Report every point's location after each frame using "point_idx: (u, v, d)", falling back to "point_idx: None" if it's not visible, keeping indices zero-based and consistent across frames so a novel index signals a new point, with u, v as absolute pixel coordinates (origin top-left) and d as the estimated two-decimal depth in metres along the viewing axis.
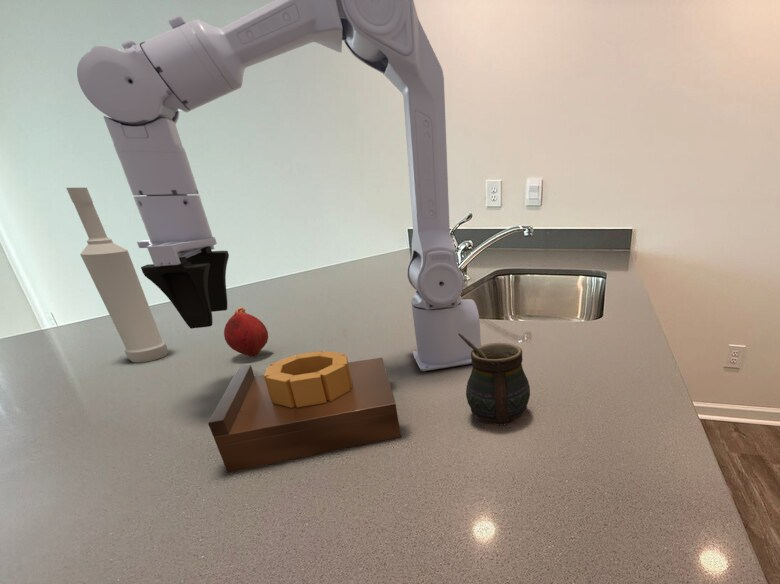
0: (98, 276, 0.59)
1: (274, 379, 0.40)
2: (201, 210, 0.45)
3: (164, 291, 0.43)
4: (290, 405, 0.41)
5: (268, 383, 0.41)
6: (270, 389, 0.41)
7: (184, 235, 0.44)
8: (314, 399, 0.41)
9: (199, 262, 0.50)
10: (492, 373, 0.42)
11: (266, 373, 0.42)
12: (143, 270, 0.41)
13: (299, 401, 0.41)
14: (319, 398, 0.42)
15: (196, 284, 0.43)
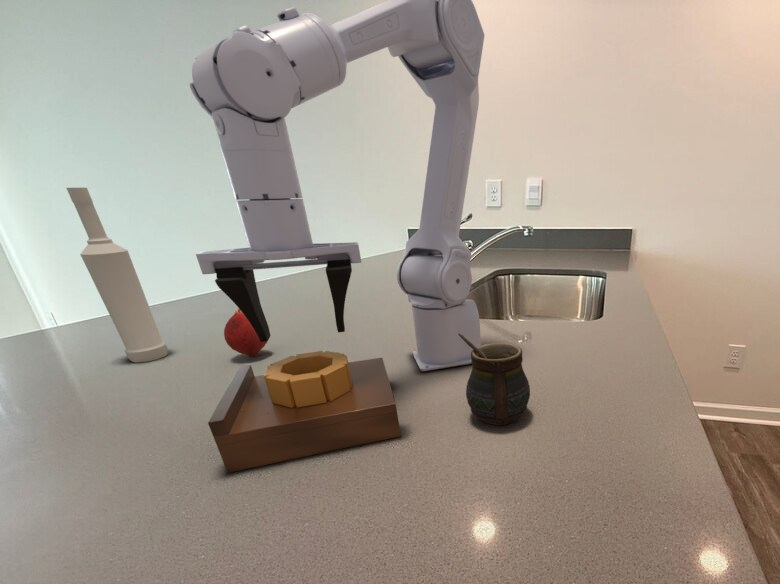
0: (98, 276, 0.59)
1: (274, 379, 0.40)
2: None
3: (346, 292, 0.43)
4: (290, 405, 0.41)
5: (268, 383, 0.41)
6: (270, 389, 0.41)
7: None
8: (314, 399, 0.41)
9: (249, 281, 0.41)
10: (492, 373, 0.42)
11: (266, 373, 0.42)
12: (348, 270, 0.42)
13: (299, 401, 0.41)
14: (319, 398, 0.42)
15: None
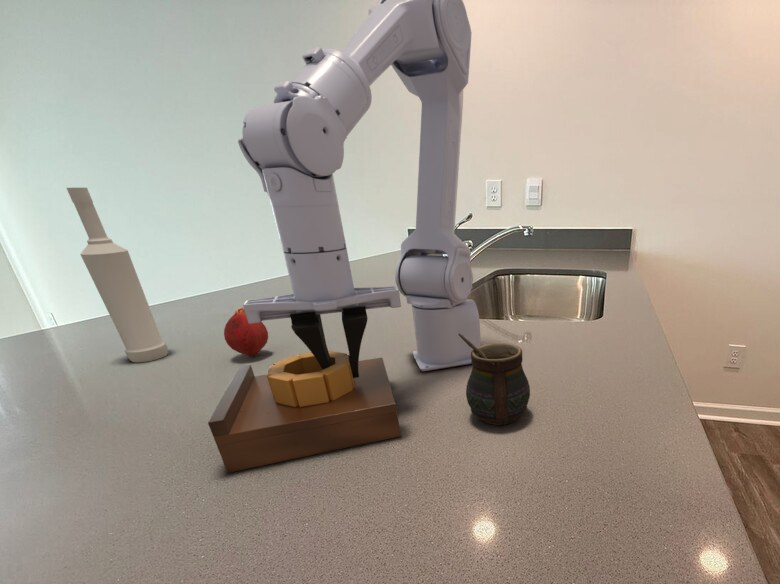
0: (98, 276, 0.59)
1: (277, 378, 0.41)
2: None
3: (361, 339, 0.43)
4: (293, 404, 0.41)
5: (270, 383, 0.41)
6: (273, 388, 0.41)
7: None
8: (317, 398, 0.41)
9: (320, 325, 0.42)
10: (492, 373, 0.42)
11: (269, 373, 0.42)
12: (364, 319, 0.42)
13: (302, 400, 0.41)
14: (322, 398, 0.42)
15: None
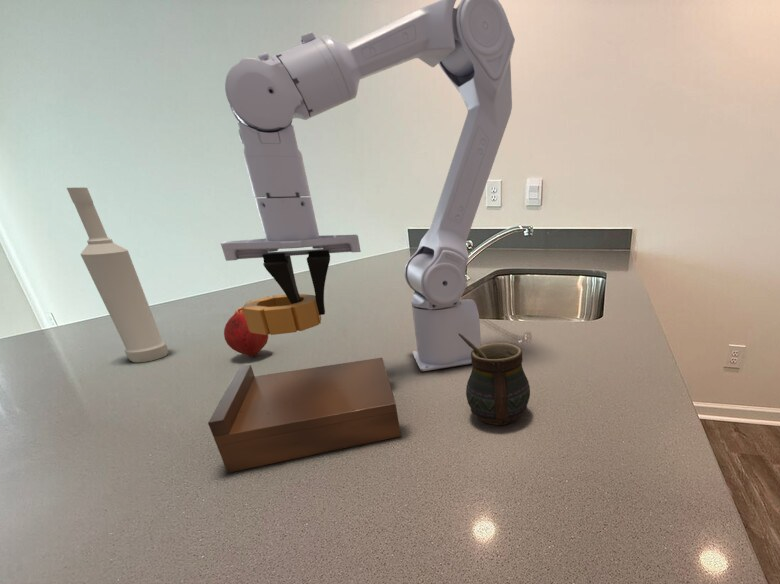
0: (98, 276, 0.59)
1: (251, 309, 0.47)
2: None
3: (325, 279, 0.50)
4: (264, 332, 0.48)
5: (245, 314, 0.48)
6: (247, 319, 0.48)
7: None
8: (285, 328, 0.48)
9: (289, 266, 0.49)
10: (492, 373, 0.42)
11: (244, 306, 0.48)
12: (327, 259, 0.48)
13: (272, 329, 0.48)
14: (290, 327, 0.48)
15: None
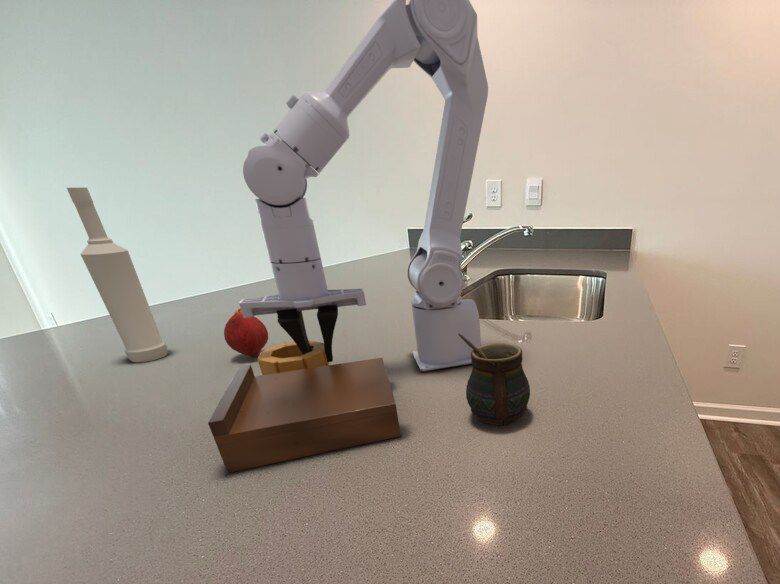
0: (98, 276, 0.59)
1: (265, 361, 0.51)
2: None
3: (333, 331, 0.54)
4: None
5: (260, 365, 0.52)
6: (262, 369, 0.52)
7: None
8: None
9: (301, 319, 0.53)
10: (492, 373, 0.42)
11: (259, 357, 0.53)
12: (335, 314, 0.53)
13: None
14: None
15: None
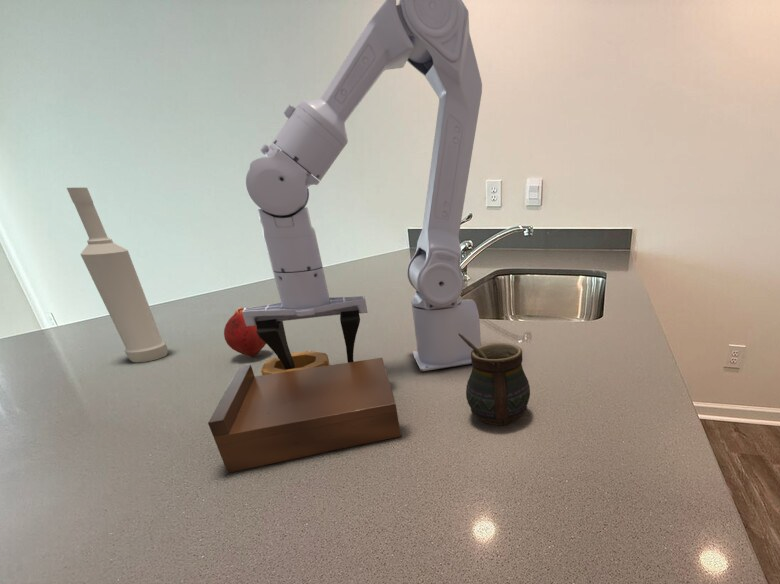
0: (98, 276, 0.59)
1: (269, 373, 0.52)
2: None
3: (355, 336, 0.55)
4: None
5: None
6: None
7: None
8: None
9: (281, 329, 0.53)
10: (492, 373, 0.42)
11: (263, 368, 0.53)
12: (358, 320, 0.54)
13: None
14: None
15: None
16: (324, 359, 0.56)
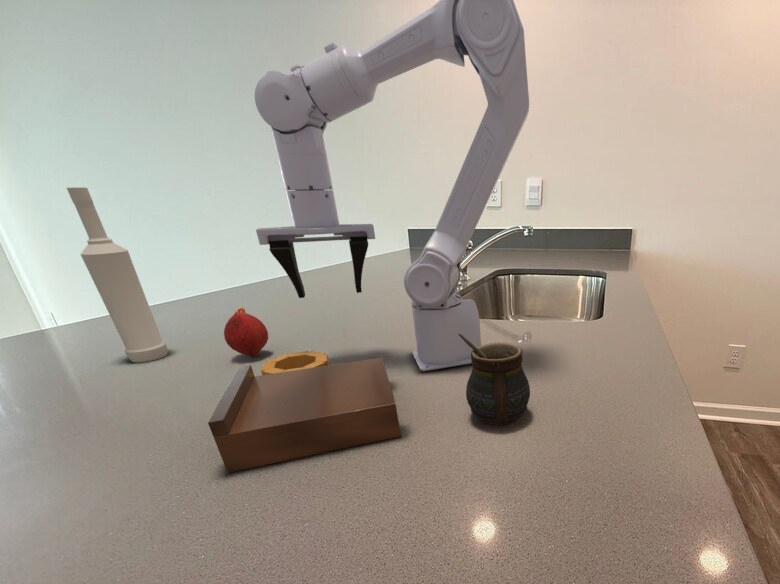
0: (98, 276, 0.59)
1: (269, 373, 0.52)
2: None
3: (363, 261, 0.57)
4: None
5: None
6: None
7: None
8: None
9: (292, 251, 0.55)
10: (492, 373, 0.42)
11: (263, 368, 0.53)
12: (366, 244, 0.56)
13: None
14: None
15: None
16: (324, 359, 0.56)
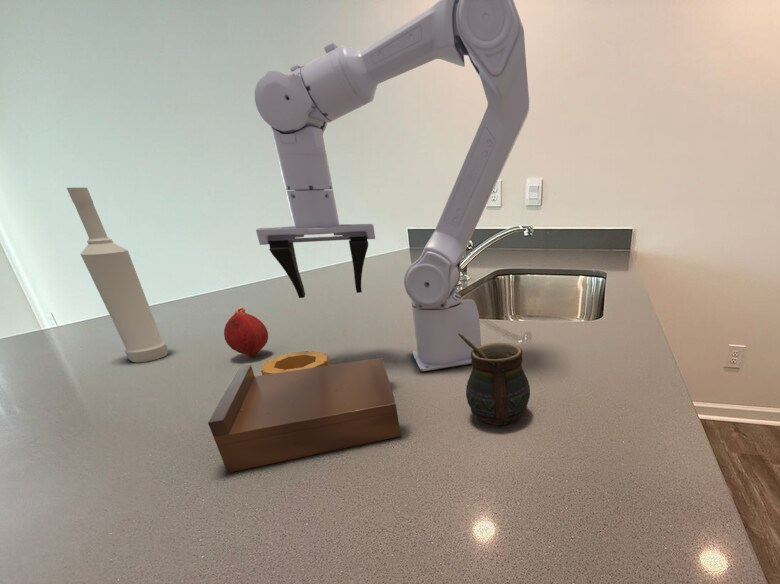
0: (98, 276, 0.59)
1: (269, 373, 0.52)
2: None
3: (363, 261, 0.57)
4: None
5: None
6: None
7: None
8: None
9: (292, 251, 0.55)
10: (492, 373, 0.42)
11: (263, 368, 0.53)
12: (366, 244, 0.56)
13: None
14: None
15: None
16: (324, 359, 0.56)
